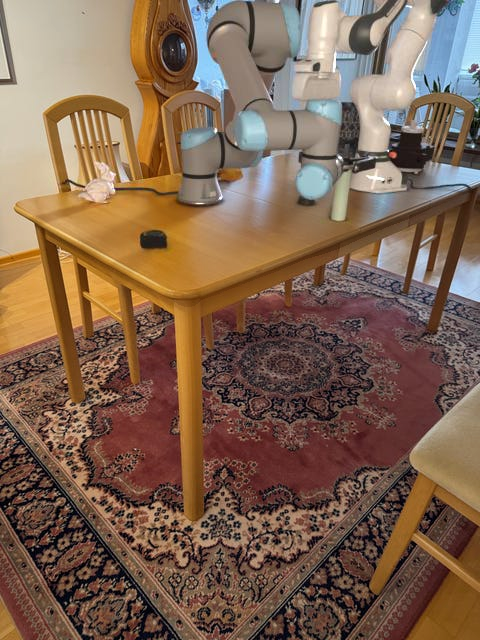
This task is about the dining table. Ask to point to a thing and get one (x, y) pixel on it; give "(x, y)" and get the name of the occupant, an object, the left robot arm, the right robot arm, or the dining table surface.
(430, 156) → the mechanical component
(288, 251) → the dining table surface
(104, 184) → the figurine
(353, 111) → the planter
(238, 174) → the toy
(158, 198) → the dining table surface
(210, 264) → the dining table surface
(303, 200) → the lid
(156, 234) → the tape measure
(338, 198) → the pale green cylinder
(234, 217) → the dining table surface
